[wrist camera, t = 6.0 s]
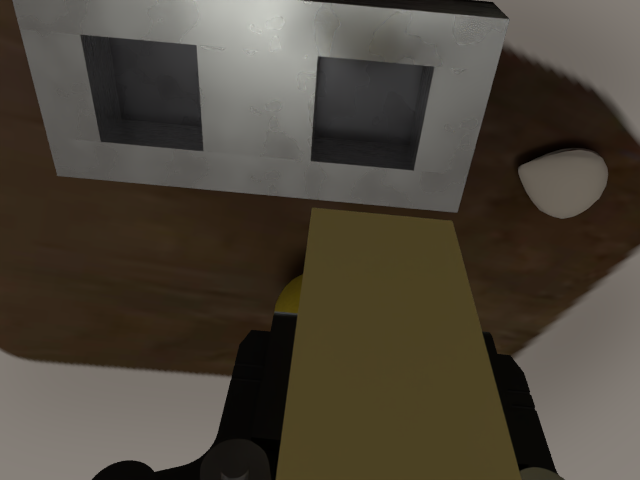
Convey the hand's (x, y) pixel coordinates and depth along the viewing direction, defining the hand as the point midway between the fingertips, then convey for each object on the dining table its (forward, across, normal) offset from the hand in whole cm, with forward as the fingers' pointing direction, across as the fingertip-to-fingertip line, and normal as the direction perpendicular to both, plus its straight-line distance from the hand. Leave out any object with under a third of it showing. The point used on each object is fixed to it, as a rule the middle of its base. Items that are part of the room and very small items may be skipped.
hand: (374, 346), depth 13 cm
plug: (+3, 0, 0) cm, 3 cm away
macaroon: (+19, -12, +4) cm, 22 cm away
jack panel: (+19, +5, 0) cm, 19 cm away
